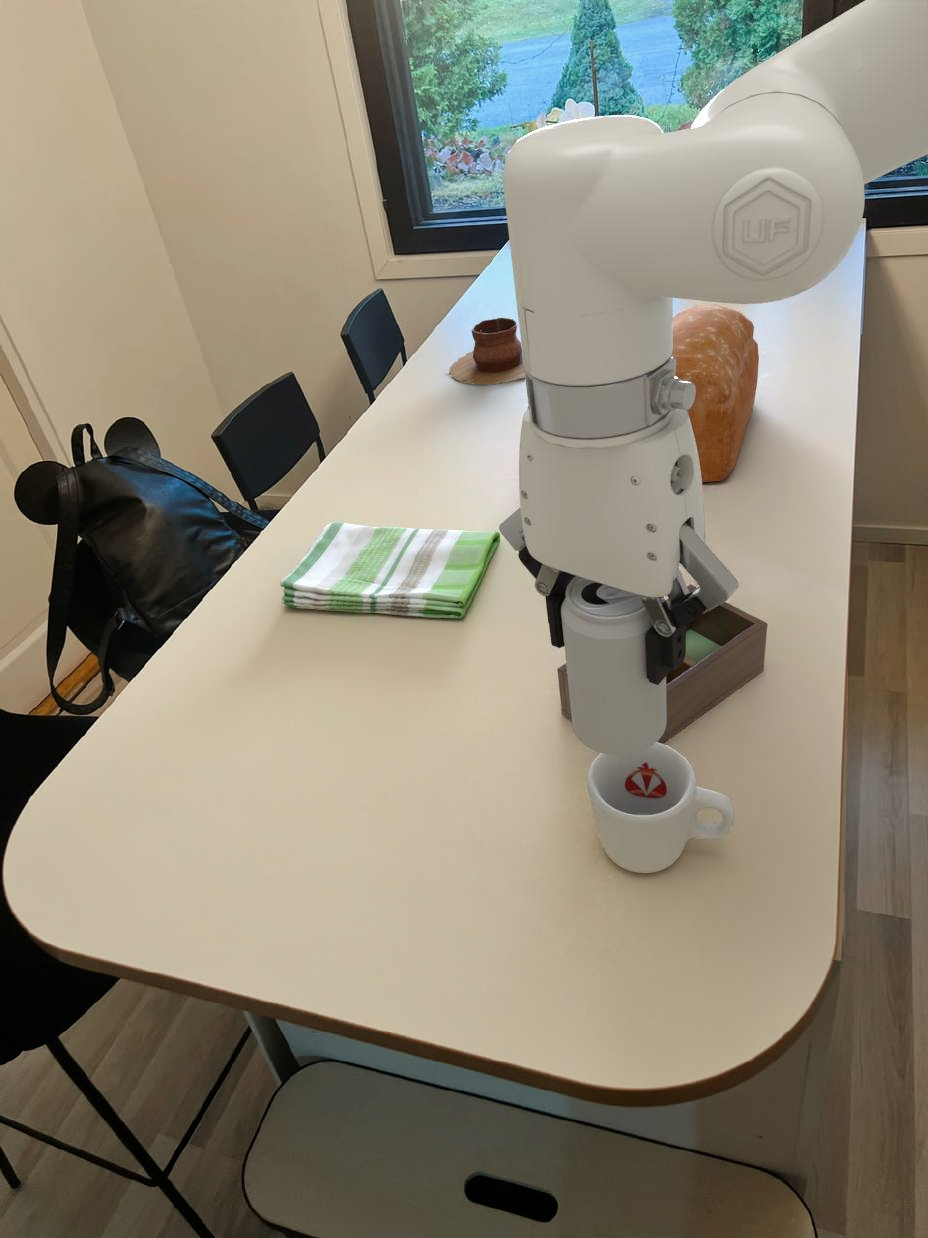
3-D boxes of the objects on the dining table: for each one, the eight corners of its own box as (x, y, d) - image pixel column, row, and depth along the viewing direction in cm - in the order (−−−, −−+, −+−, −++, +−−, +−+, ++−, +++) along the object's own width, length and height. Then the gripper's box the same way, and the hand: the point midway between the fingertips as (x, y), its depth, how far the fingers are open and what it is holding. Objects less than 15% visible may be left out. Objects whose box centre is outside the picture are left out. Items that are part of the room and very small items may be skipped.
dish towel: (334, 533, 115) (328, 510, 113) (502, 538, 109) (499, 513, 106) (279, 612, 103) (271, 588, 101) (466, 623, 96) (461, 597, 94)
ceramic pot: (439, 359, 160) (433, 321, 155) (530, 337, 162) (527, 299, 158) (464, 394, 145) (458, 353, 141) (564, 369, 148) (561, 328, 143)
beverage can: (570, 701, 63) (555, 565, 56) (659, 693, 63) (656, 554, 55) (576, 767, 58) (561, 626, 51) (674, 759, 57) (673, 615, 50)
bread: (759, 399, 129) (766, 291, 119) (731, 487, 110) (737, 368, 101) (665, 396, 134) (665, 293, 124) (624, 480, 115) (620, 367, 106)
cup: (733, 816, 70) (738, 747, 66) (729, 900, 65) (734, 831, 60) (600, 800, 74) (595, 733, 69) (584, 879, 68) (578, 812, 63)
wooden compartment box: (763, 670, 83) (767, 623, 80) (631, 766, 76) (630, 719, 73) (689, 629, 90) (690, 583, 86) (561, 714, 83) (556, 668, 79)
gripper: (791, 385, 43) (769, 662, 53) (510, 345, 53) (539, 586, 63) (720, 452, 38) (712, 738, 49) (429, 395, 48) (475, 643, 59)
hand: (615, 650), depth 56 cm, fingers closed on beverage can, 6 cm apart
